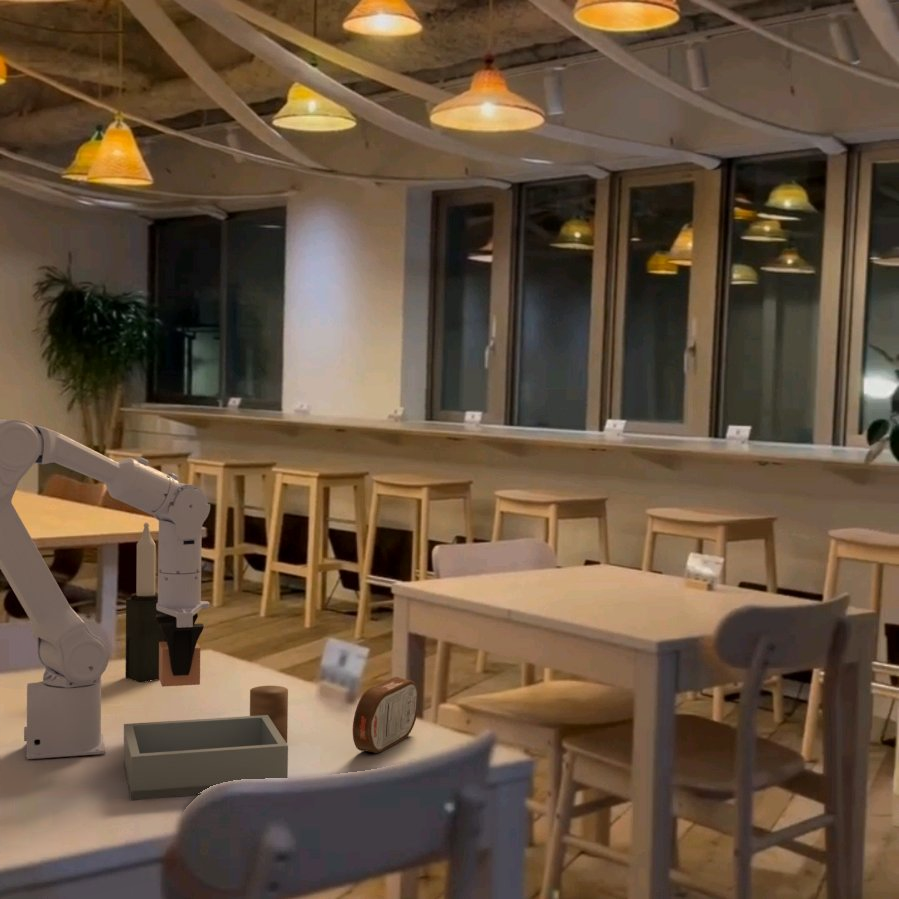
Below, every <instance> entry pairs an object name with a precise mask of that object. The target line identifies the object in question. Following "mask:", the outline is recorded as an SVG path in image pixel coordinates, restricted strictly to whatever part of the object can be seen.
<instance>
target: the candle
mask: <svg viewBox="0 0 899 899" xmlns="http://www.w3.org/2000/svg"><path fill="white" fill-rule="evenodd" d="M143 527H144V528H143V531H142V534H141V537H140V538H139V540H138V542H137V543H136V592H134V593H131V595H130V597H126V599H125V675H124V676H125V679H127V678H129V680H131V679H132V680H131V681H134V680H136V681H138V682H137V683H146V682H145V681H148V682H151V681H150V680H153V681H157V680H158V681H160V680H159V642H164V637H163V633H162V630H161V627H160V624H159V622H158V620H157V619H156V615H158V614H166V613H163V612H160V611H158V610H157V609H156V604H157V603H158V592H156V558H157V557H156V552H157V551H156V543H155V541H154V539H153V537H152V535H151V532H150V528H149V527H150V524H149V523H148V522H144V523H143ZM136 681H135V682H136Z"/></svg>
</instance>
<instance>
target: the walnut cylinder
mask: <svg viewBox="0 0 899 899" xmlns="http://www.w3.org/2000/svg"><path fill="white" fill-rule="evenodd" d="M288 704H289V688H287V687H284V686H280V685H261V686H255V687H253V688H251V689H250V690H249V716H259V715H268V716H269V717H270V719H271V721H272V722H273V724H274V725H275V727H276V728H277V730H278V731H279V733H280V734H281V736H282V737H283V739H284V740H285V742H286V743H287V744H288V728H289V727H288V725H289V724H288V717H289V715H288V714H289V712H288V710H289V705H288Z"/></svg>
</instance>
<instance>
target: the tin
mask: <svg viewBox="0 0 899 899" xmlns="http://www.w3.org/2000/svg"><path fill="white" fill-rule="evenodd" d="M418 703H419V689H418V686H417V683H415V682H414V681H413V680H411V679H406V678H402V677H401V678H400V677H399V676H393V677H391V678H389V679H386V680H384V681H382V682H380V683H377V684H375V685H372V686H370V687H369V688H367V689H366V690H365V691H364V692H363V694H362V695H361V697H360V699H359V701H358V703H357V706H356V708H355V712H354V716H353V721H352V741H353V743H354V744H353V745H354V746H355V748H356V749H357V750H358V751H362V752H363V751H364V752H369V753H371V754H372V753H373V754H380V753H382V752H383V751H385V750H387V749H389V748H391V747H394V745H396V744H398V743H401V741H404V740H405V739H406V738H407V737H408V736H409V735H410V734H411V732H412V730H413V728H414V726H415V723H416V720H417V714H418V712H417V711H418Z"/></svg>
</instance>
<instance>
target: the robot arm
mask: <svg viewBox="0 0 899 899" xmlns="http://www.w3.org/2000/svg"><path fill="white" fill-rule="evenodd" d="M51 463H55V464H57V465H59V466H62V467H65V468H67V469H70V470H71V471H74V472H77V473H79V474H82V475H84V476H87V477H89V478H91V479H94V480H96V481H98V482H101V483H104V484H105V486H106V489H107V492H108V494H109V496H110V497H111V498H113V499H114V500H116V501H119V502H122V503H124V504H126V505H129V506H131V507H133V508H135V509H138V510H139V511H143V512H144V513H147V514H149V515H151V516H153V517H154V518H155V519H156V520H157V521H158V541H157V542H158V546H157V548H158V556H157V557H158V559H157V560H158V563H157V564H158V565H157V566H158V568H157V570H158V571H157V572H158V573H157V594H158V603H157V604H156V609H157V610H158V611H160V612H163V613H165V614H158V615H156V619H157V620H158V622H159V624H160V627H161V630H162V633H163V637H164V642H167V645H168V650H169V657H170V664H171V669H172V673H173V676H180V675H189V672H190V669H191V665H192V660H193V654H194V650H195V646H196V643H198V640H199V638H200V637H201V634H202V633H203V631H204V628H205V627H204V624H203V623H196V621H197V619H198V617H199V614H198V613H199V612H200V611H201V610H203V609H210V607H211V606H210V604H211V603H210V602H209V601H207V600H202V598H201V597H202V541H203V540H202V538H203V536H202V532H203V525H204V522H205V521H206V520H207V518H208V517H209V514H210V511H211V504H209V503H208V500H207V496H206V493H204V491H203V490H202V489H201V488H200V487H198V486H197V485H193V484H188V483H182V482H179V480H178V479H179V475H177V474H175V473H171V472H169V473H165V472H162V471H160V470H159V469H156V468H154V467H152V466H149V465H148V464H149V463H150V461H149V460H148V459H145V458H144V457H139V456H136V457H135V459H134V458H132V457H126V458H124V459H121V460H119V461H115V460H113V459H111V458H109V457H108V456H106V455H103V454H102V453H100V452H98V451H95V450H93V449H92V448H90V447H88V446H85V445H84V444H82V443H80V442H78V441H76V440H74V439H72V438H70V437H68V436H66V435H64V434H62V433H60V432H58V431H55V430H52V429H49V428H48V427H44V426H43V427H42V426H40V425H35V424H34V425H33V424H31V423H29V422H27V421H26V420H23V419H16V418H15V419H14V418H13V419H4V418H1V417H0V570H1V572H2V574H3V575H4V578H5V579H6V581H7V582H8V584H9V586H10V587H11V590H12V591H13V593H14V594H15V596H16V598H17V600H18V602H19V603H20V605H21V607H22V608H23V610H24V612H25V613H26V615H27V617H28V618H29V620H30V622H31V623H30V624H31V625H30V632H31V633H32V635H33V637H34V639H35V643H36V644H35V645H36V655H37V658H38V661H39V662H40V663H41V665H42V666H43V667H44V668H45V671H44V673H43V677H42V681H37V682H29V683H27V684H26V726H24V727H23V735H24V736H23V741H24V742H26V759H27V760H35V759H36V760H37V759H48V758H62V757H63V758H65V757H78V756H80V757H81V756H90V755H91V756H93V755H102V754H105V753H106V747H105V742H104V735H103V733H102V675H103V674H104V673H105V671H106V669H107V667H108V664H109V661H110V653H109V652H110V651H109V649H108V646H107V644H106V642H105V641H104V639H102V638H101V637H99V636H97V635H95V634H94V633H92V632H91V631H90V629H89V627H88V626H87V624H86V623H85V621H84V620H83V619H82V617H80V616H79V615H78V613H77V612H76V611H75V610H74V608H72V607H71V606H70V603H69V602H68V600H67V598H66V596H65V595H64V593H63V592H62V589H61V588H60V586H59V584H58V583H57V580H56V579H55V578H54V575H53V574H52V571H51V570H50V568H49V566H48V564H47V563H46V562H45V559H44V558H43V556H42V555H41V552H40V551H39V549H38V547H37V546H36V543H35V542H34V540H33V539H32V536H31V534H30V533H29V532H28V529H27V527H26V526H25V524H24V523H23V521H22V519H21V517H20V515H19V513H18V512H17V510H16V508H15V506H14V505H13V503H12V500H13V498H14V495H15V493H16V490H17V488H18V485H19V483H20V481H21V480H22V479H23V477H24V476H25V475H26V474H27V473H28V472H29V470H31V468H32V467H33V466H34V464H38V465H47V464H51Z"/></svg>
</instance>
